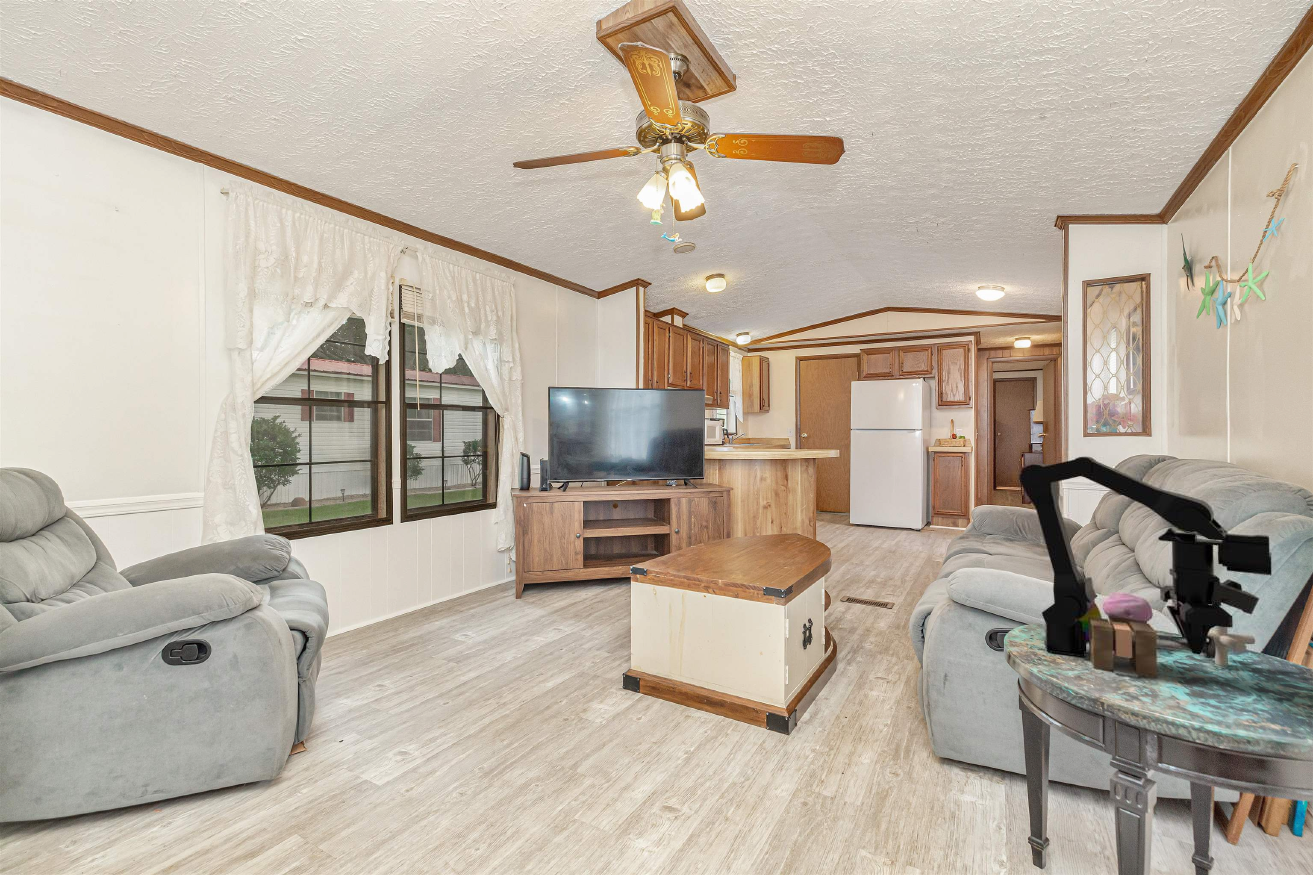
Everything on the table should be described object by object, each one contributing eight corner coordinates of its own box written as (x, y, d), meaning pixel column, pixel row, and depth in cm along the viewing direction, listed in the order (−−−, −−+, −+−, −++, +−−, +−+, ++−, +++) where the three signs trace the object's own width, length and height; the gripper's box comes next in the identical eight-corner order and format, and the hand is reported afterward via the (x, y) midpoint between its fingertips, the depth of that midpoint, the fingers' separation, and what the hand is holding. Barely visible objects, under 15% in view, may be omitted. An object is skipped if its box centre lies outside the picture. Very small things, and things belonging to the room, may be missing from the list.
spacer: (1116, 656, 113) (1115, 628, 113) (1111, 647, 118) (1111, 621, 118) (1132, 658, 112) (1131, 630, 112) (1126, 649, 117) (1126, 623, 117)
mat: (1115, 674, 111) (1115, 673, 111) (1106, 657, 120) (1106, 656, 120) (1138, 677, 110) (1138, 676, 110) (1127, 660, 119) (1127, 658, 119)
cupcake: (1100, 630, 137) (1099, 587, 137) (1148, 636, 133) (1147, 591, 133) (1106, 641, 129) (1105, 596, 130) (1157, 648, 125) (1156, 600, 125)
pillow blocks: (1093, 668, 115) (1093, 625, 115) (1089, 658, 120) (1088, 617, 120) (1157, 677, 110) (1156, 632, 110) (1149, 666, 115) (1148, 623, 115)
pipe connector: (1272, 675, 110) (1271, 621, 110) (1210, 672, 112) (1209, 619, 112) (1232, 656, 120) (1231, 607, 120) (1175, 653, 122) (1174, 604, 122)
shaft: (1099, 646, 115) (1098, 625, 115) (1096, 640, 119) (1095, 620, 119) (1215, 661, 107) (1215, 639, 107) (1208, 654, 110) (1208, 633, 110)
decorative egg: (1049, 632, 137) (1048, 588, 137) (1081, 630, 138) (1080, 587, 138) (1078, 643, 128) (1077, 597, 129) (1112, 641, 129) (1111, 596, 130)
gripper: (1273, 582, 98) (1275, 677, 98) (1233, 561, 114) (1234, 643, 114) (1185, 575, 103) (1186, 665, 103) (1158, 556, 120) (1160, 634, 119)
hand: (1194, 651), depth 110 cm, fingers closed on shaft, 2 cm apart
